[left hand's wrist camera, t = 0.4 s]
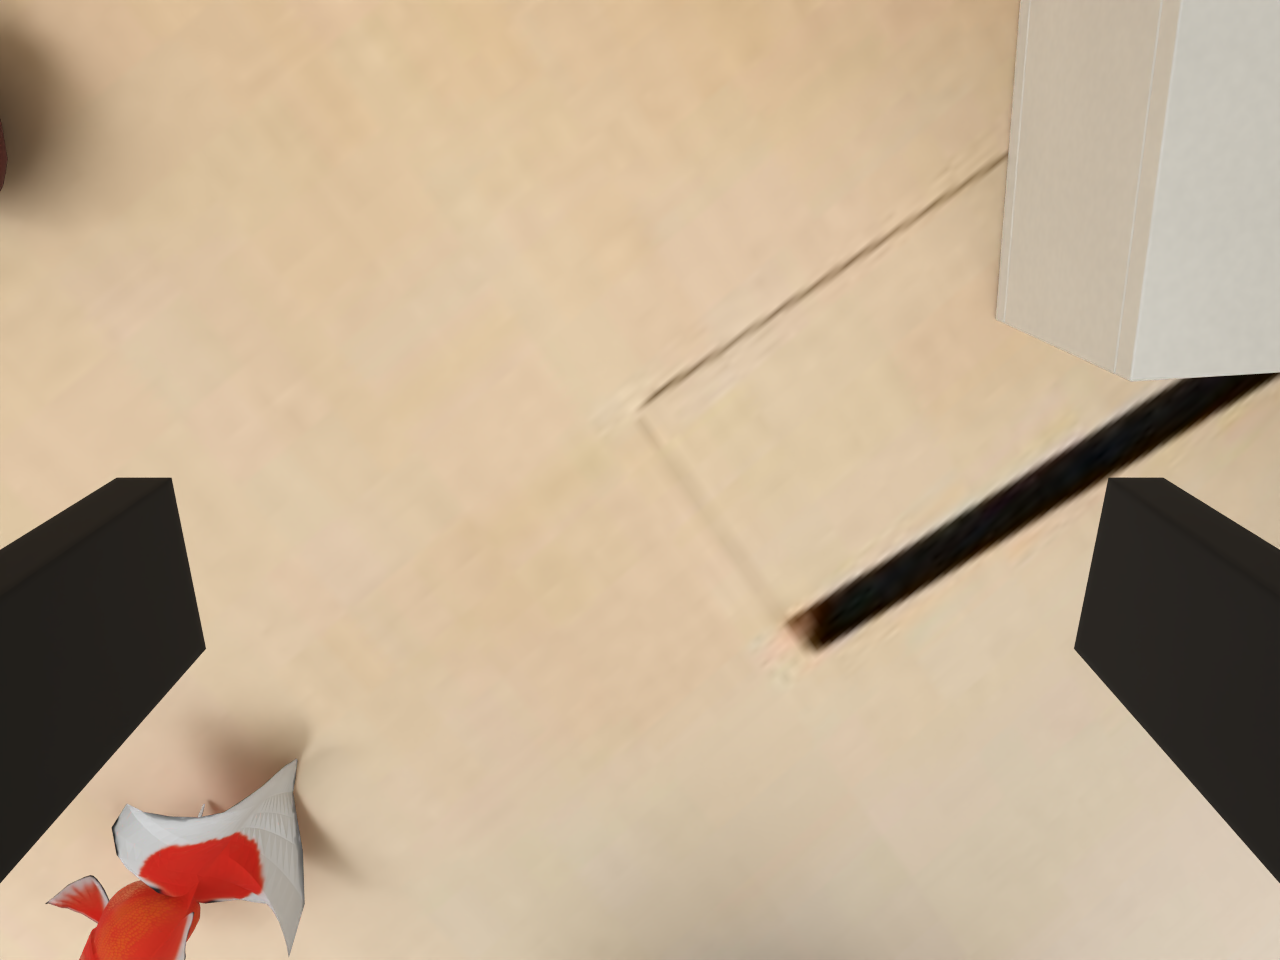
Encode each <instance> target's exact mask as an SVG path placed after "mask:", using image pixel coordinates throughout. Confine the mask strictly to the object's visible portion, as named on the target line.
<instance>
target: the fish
mask: <svg viewBox="0 0 1280 960" xmlns="http://www.w3.org/2000/svg"><path fill="white" fill-rule="evenodd" d="M296 768H297V759H295V760H294V761H292V762H290V763H289V764H287V765H286V766H284V767H283V768H282V769H281V770H280V771H278V772H277V773H276V774H275V775H274V776H273V777H272V778H271V779H270V780H268V781H267V782H266V783H265V784H264V785H263V786H262V787H261V788H259V789H258V790H257V791H255V792H254V793H252V794H251V795H249V796H248V797H247V798H245V799H244V800H242V801H241V802H239V803H238V804H236V805H235V806H233V807H231V808H230V809H228V810H227V811H225V812H224V813H219V814H214V815H209V816H204V817H202V814H203V810H204V806H205V804H203V806H202V808H201V810H200V813H199V815H198V817H170V816H164V815H158V814H152V813H146V812H143V811H141V810H139V809H137V808H135V807H133V806H131V805H129V804H126V806H125V807H124V809H123V811H122V812H121V814H120V815H119V817H118V819H117V820H116V822H115V823H114V825H113V826H112V832H113V837H114V842H115V848H116V853H117V856H118V857H119V858H120V860H121V861H122V863H123V864H124V865H125V867H126V868H127V869H128V870H130V871H131V872H132V873H133V874H134V875H135V876H136V877H138V878H139V879H140V881H136V882H133V883H131V884H129V885H127V886H125V887H124V888H122V889H121V890H119V891H118V892H117V893H116V894H115V895H114V896H113V897H112V898H111V899H110V901H109V899H108V896H107V894H106V892H105V890H104V888H103V887H102V885H101V884H100V882H99V881H98V880H97V879H96V878H95V877H94V876H91V875H90V876H86V877H84V878H82V879H79V880H77V881H75V882H73V883H71V884H69V885H67V886H66V887H65V888H64V889H63V890H62V891H60V892H59V893H58V894H57V895H56V896H54V897H53V898H52V899H51V900H49V901H48V902H47V903H49V904H52V905H55V906H58V907H61V908H68V909H70V910H73V911H75V912H78V913H82V914H83V915H85V916H87V917H88V918H90V919H91V920H93V921H95V922H96V923H98V925H97V927H96V928H94V929H93V930H92V931H91V933H90V935H89V938H88V940H87V943H86V945H85V947H84V950H83V952H82V954H81V957H80V959H79V960H185V958H186V954H185V946H186V942H187V940H188V939H189V937H190V936H191V934H192V933H193V931H194V929H195V927H196V925H197V923H198V921H199V919H200V904H199V902H200V903H213V902H221V901H230V900H238V899H241V900H246V901H251V902H257V903H266V904H267V905H268V906H269V907H270V908H271V909H272V910H273V912H274V914H275V915H276V917H277V919H278V921H279V923H280V926H281V928H282V931H283V934H284V937H285V941H286V944H287V950H288V956H289V955H290V952H291V948H292V945H293V941H294V938H295V935H296V931H297V928H298V924H299V921H300V917H301V914H302V911H303V907H304V904H305V903H304V873H303V850H302V844H301V838H300V832H299V827H298V821H297V814H296V808H295V802H294V795H293V789H294V783H295V778H296ZM47 903H46V904H47Z"/></svg>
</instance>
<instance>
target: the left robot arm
mask: <svg viewBox="0 0 1280 960" xmlns="http://www.w3.org/2000/svg"><path fill="white" fill-rule="evenodd" d="M205 649H206V647H205V642H204V637H203V632H202V627H201V622H200V617H199V612H198V607H197V602H196V597H195V592H194V587H193V582H192V577H191V572H190V567H189V562H188V557H187V552H186V548H185V543H184V538H183V533H182V528H181V523H180V518H179V513H178V508H177V503H176V498H175V493H174V488H173V483H172V478H116V479H114V480H112V481H111V482H109V483H107V484H106V485H104V486H103V487H101V488H99V489H98V490H96V491H95V492H93V493H91V494H90V495H88V496H86V497H85V498H83V499H82V500H80V501H78V502H77V503H75V504H74V505H72V506H70V507H69V508H67V509H65V510H64V511H62V512H61V513H59V514H57V515H56V516H54V517H53V518H51V519H49V520H48V521H46V522H44V523H43V524H41V525H40V526H38V527H36V528H35V529H33V530H32V531H30V532H28V533H27V534H25V535H23V536H22V537H20V538H19V539H17V540H15V541H14V542H12V543H11V544H9V545H7V546H6V547H4V548H2V549H1V550H0V883H1V882H2V881H3V879H4V878H5V877H6V876H7V875H8V874H9V873H10V871H11V870H12V869H13V868H14V867H15V866H16V865H17V863H18V862H19V861H20V860H21V859H22V858H23V857H24V855H25V854H26V853H27V852H28V851H29V850H30V849H31V847H32V846H33V845H34V844H35V843H36V842H37V841H38V840H39V838H40V837H41V836H42V835H43V834H44V833H45V832H46V830H47V829H48V828H49V827H50V826H51V825H52V824H53V822H54V821H55V820H56V819H57V818H58V817H59V816H60V814H61V813H62V812H63V811H64V810H65V809H66V808H67V806H68V805H69V804H70V803H71V802H72V801H73V800H74V798H75V797H76V796H77V795H78V794H79V793H80V792H81V790H82V789H83V788H84V787H85V786H86V785H87V784H88V783H89V781H90V780H91V779H92V778H93V777H94V776H95V775H96V773H97V772H98V771H99V770H100V769H101V768H102V767H103V765H104V764H105V763H106V762H107V761H108V760H109V759H110V757H111V756H112V755H113V754H114V753H115V752H116V751H117V749H118V748H119V747H120V746H121V745H122V744H123V743H124V741H125V740H126V739H127V738H128V737H129V736H130V735H131V734H132V732H133V731H134V730H135V729H136V728H137V727H138V726H139V724H140V723H141V722H142V721H143V720H144V719H145V718H146V716H147V715H148V714H149V713H150V712H151V711H152V710H153V708H154V707H155V706H156V705H157V704H158V703H159V702H160V700H161V699H162V698H163V697H164V696H165V695H166V694H167V692H168V691H169V690H170V689H171V688H172V687H173V686H174V684H175V683H176V682H177V681H178V680H179V679H180V678H181V677H182V675H183V674H184V673H185V672H186V671H187V670H188V669H189V667H190V666H191V665H192V664H193V663H194V662H195V661H196V659H197V658H198V657H199V656H200V655H201V654H202V653H203V651H204V650H205ZM1074 649H1075V650H1076V651H1077V653H1078V654H1079V655H1080V656H1081V657H1082V658H1083V659H1084V661H1085V662H1086V663H1087V664H1088V665H1089V666H1090V667H1091V669H1092V670H1093V671H1094V672H1095V673H1096V674H1097V675H1098V677H1099V678H1100V679H1101V680H1102V681H1103V682H1104V683H1105V684H1106V686H1107V687H1108V688H1109V689H1110V690H1111V691H1112V692H1113V694H1114V695H1115V696H1116V697H1117V698H1118V699H1119V700H1120V702H1121V703H1122V704H1123V705H1124V706H1125V707H1126V708H1127V710H1128V711H1129V712H1130V713H1131V714H1132V715H1133V716H1134V718H1135V719H1136V720H1137V721H1138V722H1139V723H1140V724H1141V726H1142V727H1143V728H1144V729H1145V730H1146V731H1147V732H1148V734H1149V735H1150V736H1151V737H1152V738H1153V739H1154V740H1155V741H1156V743H1157V744H1158V745H1159V746H1160V747H1161V748H1162V749H1163V751H1164V752H1165V753H1166V754H1167V755H1168V756H1169V757H1170V759H1171V760H1172V761H1173V762H1174V763H1175V764H1176V765H1177V767H1178V768H1179V769H1180V770H1181V771H1182V772H1183V773H1184V775H1185V776H1186V777H1187V778H1188V779H1189V780H1190V781H1191V783H1192V784H1193V785H1194V786H1195V787H1196V788H1197V789H1198V790H1199V792H1200V793H1201V794H1202V795H1203V796H1204V797H1205V798H1206V800H1207V801H1208V802H1209V803H1210V804H1211V805H1212V806H1213V808H1214V809H1215V810H1216V811H1217V812H1218V813H1219V814H1220V816H1221V817H1222V818H1223V819H1224V820H1225V821H1226V822H1227V824H1228V825H1229V826H1230V827H1231V828H1232V829H1233V830H1234V832H1235V833H1236V834H1237V835H1238V836H1239V837H1240V838H1241V840H1242V841H1243V842H1244V843H1245V844H1246V845H1247V846H1248V847H1249V849H1250V850H1251V851H1252V852H1253V853H1254V854H1255V855H1256V857H1257V858H1258V859H1259V860H1260V861H1261V862H1262V863H1263V865H1264V866H1265V867H1266V868H1267V869H1268V870H1269V871H1270V873H1271V874H1272V875H1273V876H1274V877H1275V878H1276V879H1277V881H1278V882H1279V883H1280V550H1279V549H1278V548H1276V547H1274V546H1273V545H1271V544H1269V543H1268V542H1266V541H1265V540H1263V539H1261V538H1260V537H1258V536H1257V535H1255V534H1253V533H1252V532H1250V531H1248V530H1247V529H1245V528H1244V527H1242V526H1240V525H1239V524H1237V523H1236V522H1234V521H1232V520H1231V519H1229V518H1227V517H1226V516H1224V515H1223V514H1221V513H1219V512H1218V511H1216V510H1215V509H1213V508H1211V507H1210V506H1208V505H1206V504H1205V503H1203V502H1202V501H1200V500H1198V499H1197V498H1195V497H1194V496H1192V495H1190V494H1189V493H1187V492H1185V491H1184V490H1182V489H1181V488H1179V487H1177V486H1176V485H1174V484H1173V483H1171V482H1169V481H1168V480H1166V479H1164V478H1108V483H1107V488H1106V493H1105V498H1104V503H1103V508H1102V513H1101V518H1100V523H1099V528H1098V533H1097V538H1096V543H1095V547H1094V552H1093V557H1092V562H1091V567H1090V572H1089V577H1088V582H1087V587H1086V592H1085V597H1084V602H1083V607H1082V612H1081V617H1080V622H1079V627H1078V632H1077V637H1076V642H1075V647H1074Z"/></svg>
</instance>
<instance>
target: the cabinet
mask: <svg viewBox="0 0 1280 960" xmlns="http://www.w3.org/2000/svg"><path fill="white" fill-rule="evenodd" d="M996 320H998V321H1000V322H1002V323H1004V324H1006V325H1008V326H1011V327H1013V328H1015V329H1017V330H1019V331H1022V332H1024V333H1026V334H1028V335H1030V336H1032V337H1035V338H1037V339H1039V340H1041V341H1043V342H1046V343H1048V344H1050V345H1052V346H1054V347H1057V348H1059V349H1061V350H1063V351H1065V352H1067V353H1070V354H1072V355H1074V356H1076V357H1078V358H1081V359H1083V360H1085V361H1087V362H1089V363H1092V364H1094V365H1096V366H1098V367H1100V368H1102V369H1105V370H1107V371H1109V372H1111V373H1113V374H1116V375H1118V376H1120V377H1122V378H1124V379H1126V380H1129V381H1147V380H1163V379H1179V378H1195V377H1211V376H1227V375H1243V374H1259V373H1275V372H1280V0H1020V11H1019V24H1018V36H1017V49H1016V62H1015V75H1014V88H1013V101H1012V114H1011V127H1010V140H1009V153H1008V166H1007V179H1006V192H1005V205H1004V218H1003V231H1002V244H1001V257H1000V270H999V283H998V296H997V308H996Z"/></svg>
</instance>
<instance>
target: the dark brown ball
mask: <svg viewBox="0 0 1280 960" xmlns="http://www.w3.org/2000/svg"><path fill="white" fill-rule="evenodd" d="M7 160H8V159H7V153H6V147H5V141H4V135H3V129H2V123H1V120H0V191H1V189H2V187H3V184H4V178H5V172H6V166H7Z"/></svg>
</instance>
